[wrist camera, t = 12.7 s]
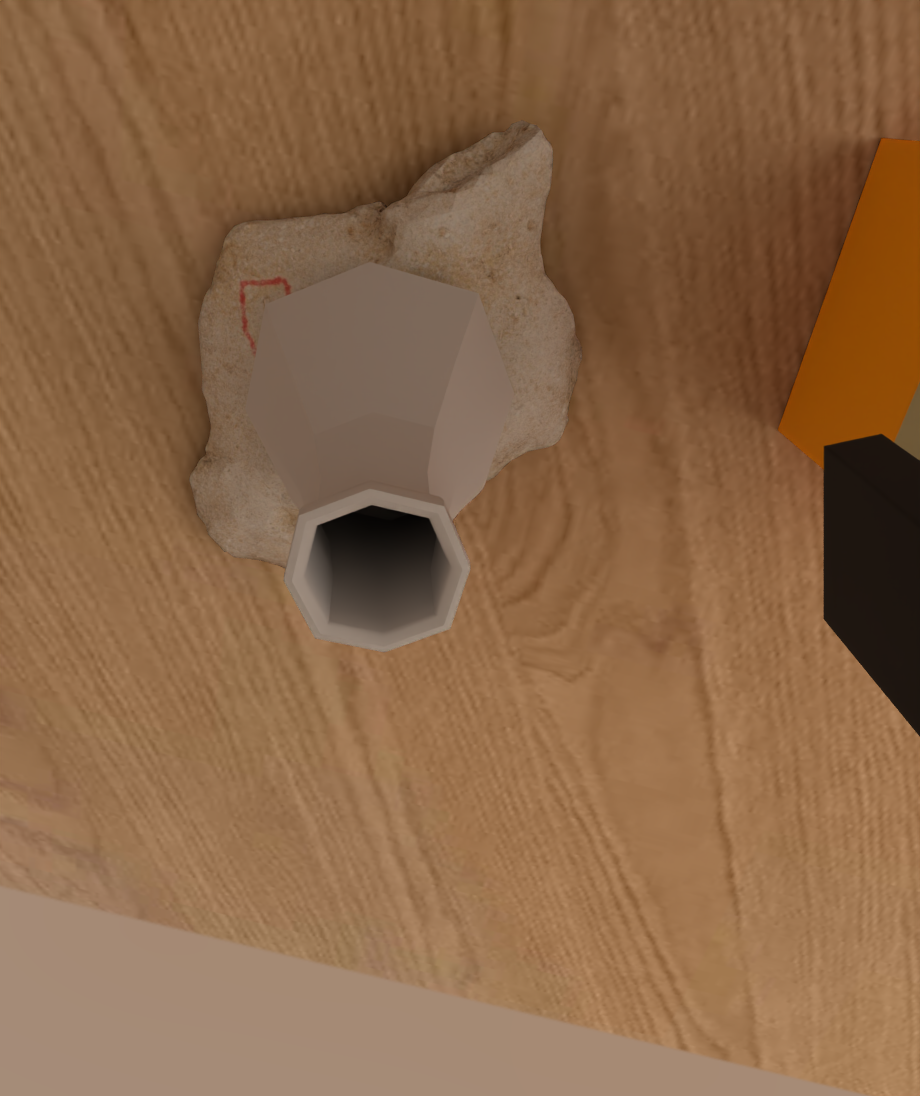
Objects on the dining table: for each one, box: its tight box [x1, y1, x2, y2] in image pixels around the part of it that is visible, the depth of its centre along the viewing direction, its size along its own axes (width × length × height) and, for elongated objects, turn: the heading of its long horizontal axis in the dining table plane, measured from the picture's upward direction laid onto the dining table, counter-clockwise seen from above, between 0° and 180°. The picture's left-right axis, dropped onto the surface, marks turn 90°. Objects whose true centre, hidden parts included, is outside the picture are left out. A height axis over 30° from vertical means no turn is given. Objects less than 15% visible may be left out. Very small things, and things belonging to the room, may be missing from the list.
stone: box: [189, 120, 582, 568], centre depth 25 cm, size 13×11×3 cm
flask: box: [245, 262, 514, 652], centre depth 19 cm, size 7×7×10 cm
